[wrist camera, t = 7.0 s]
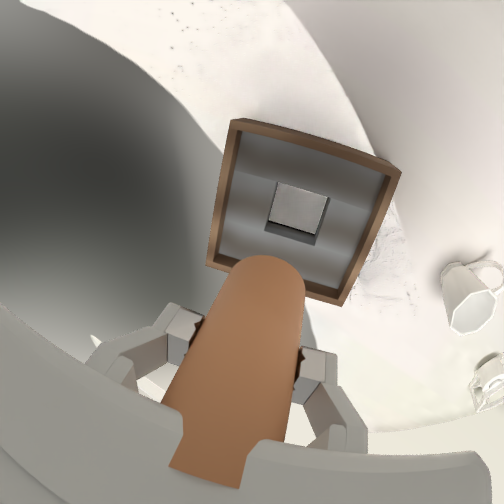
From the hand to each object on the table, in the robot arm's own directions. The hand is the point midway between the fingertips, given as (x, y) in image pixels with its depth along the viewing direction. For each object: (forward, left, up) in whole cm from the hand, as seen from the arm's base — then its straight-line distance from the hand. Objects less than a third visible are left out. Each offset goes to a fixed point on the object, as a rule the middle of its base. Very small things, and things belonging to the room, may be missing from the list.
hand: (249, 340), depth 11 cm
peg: (0, 0, -4) cm, 4 cm away
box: (+2, +1, -22) cm, 22 cm away
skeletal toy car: (+16, +52, -23) cm, 59 cm away
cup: (+3, +25, -22) cm, 33 cm away
